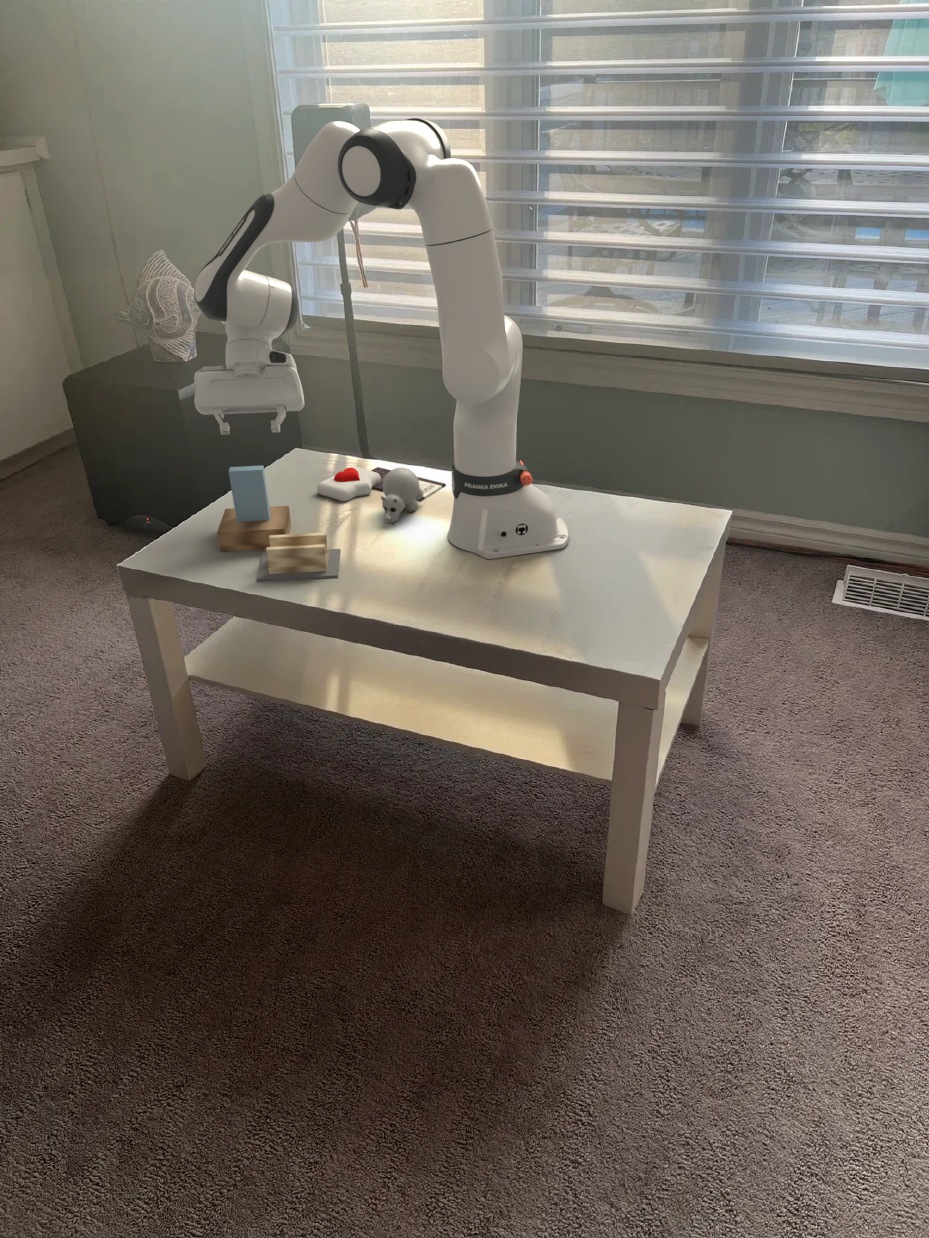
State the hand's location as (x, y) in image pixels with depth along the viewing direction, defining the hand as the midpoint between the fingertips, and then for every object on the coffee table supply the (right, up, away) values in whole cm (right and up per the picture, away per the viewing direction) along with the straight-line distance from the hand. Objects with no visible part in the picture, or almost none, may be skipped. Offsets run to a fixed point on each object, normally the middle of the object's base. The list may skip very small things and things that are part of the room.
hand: (250, 432), depth 172 cm
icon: (+17, -8, +20) cm, 27 cm away
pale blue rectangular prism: (+1, -16, -1) cm, 16 cm away
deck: (+1, -20, +1) cm, 20 cm away
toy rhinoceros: (+27, -14, +10) cm, 32 cm away
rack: (+11, -25, -8) cm, 29 cm away
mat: (+11, -25, -8) cm, 29 cm away
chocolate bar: (+26, -7, +22) cm, 35 cm away
